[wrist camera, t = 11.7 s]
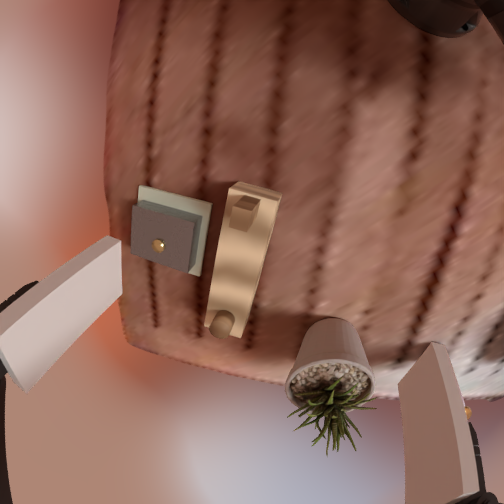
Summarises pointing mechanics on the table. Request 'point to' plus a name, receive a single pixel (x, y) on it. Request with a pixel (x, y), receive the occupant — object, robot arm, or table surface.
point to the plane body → (240, 257)
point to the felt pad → (185, 205)
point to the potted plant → (330, 377)
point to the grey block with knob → (165, 235)
